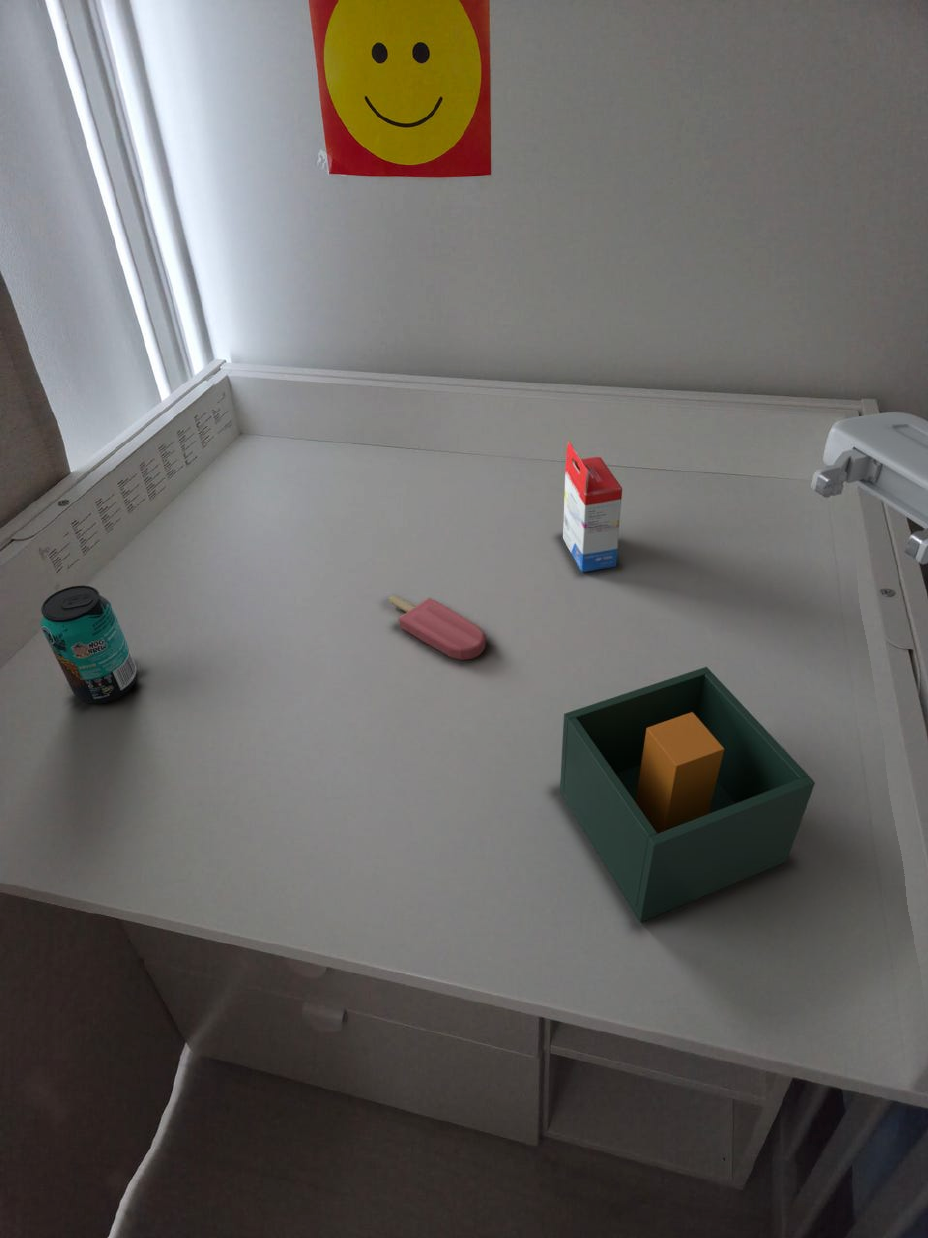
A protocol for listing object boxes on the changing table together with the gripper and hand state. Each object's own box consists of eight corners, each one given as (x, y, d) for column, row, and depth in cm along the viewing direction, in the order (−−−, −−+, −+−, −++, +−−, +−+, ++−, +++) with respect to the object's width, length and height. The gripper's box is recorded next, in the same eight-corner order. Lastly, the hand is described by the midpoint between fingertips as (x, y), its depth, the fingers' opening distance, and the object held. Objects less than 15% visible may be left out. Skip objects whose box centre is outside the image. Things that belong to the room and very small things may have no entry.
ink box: (617, 568, 104) (626, 466, 95) (580, 574, 104) (586, 472, 94) (595, 532, 111) (602, 434, 101) (560, 537, 110) (564, 439, 101)
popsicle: (405, 582, 101) (495, 633, 93) (406, 592, 102) (495, 644, 94) (373, 602, 98) (463, 657, 90) (375, 612, 99) (463, 668, 91)
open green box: (786, 861, 71) (815, 782, 64) (640, 922, 67) (654, 845, 60) (690, 745, 81) (706, 666, 74) (559, 792, 77) (563, 713, 70)
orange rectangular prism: (704, 830, 72) (724, 748, 65) (660, 848, 71) (676, 766, 64) (676, 793, 76) (692, 711, 69) (634, 809, 74) (646, 727, 67)
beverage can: (77, 671, 93) (38, 589, 86) (140, 658, 95) (107, 575, 87) (72, 713, 88) (30, 629, 81) (139, 699, 89) (103, 615, 82)
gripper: (916, 381, 67) (778, 415, 63) (1162, 499, 52) (1000, 552, 49) (894, 450, 71) (762, 485, 67) (1116, 578, 56) (963, 632, 53)
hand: (863, 515), depth 58 cm, fingers open, 8 cm apart
